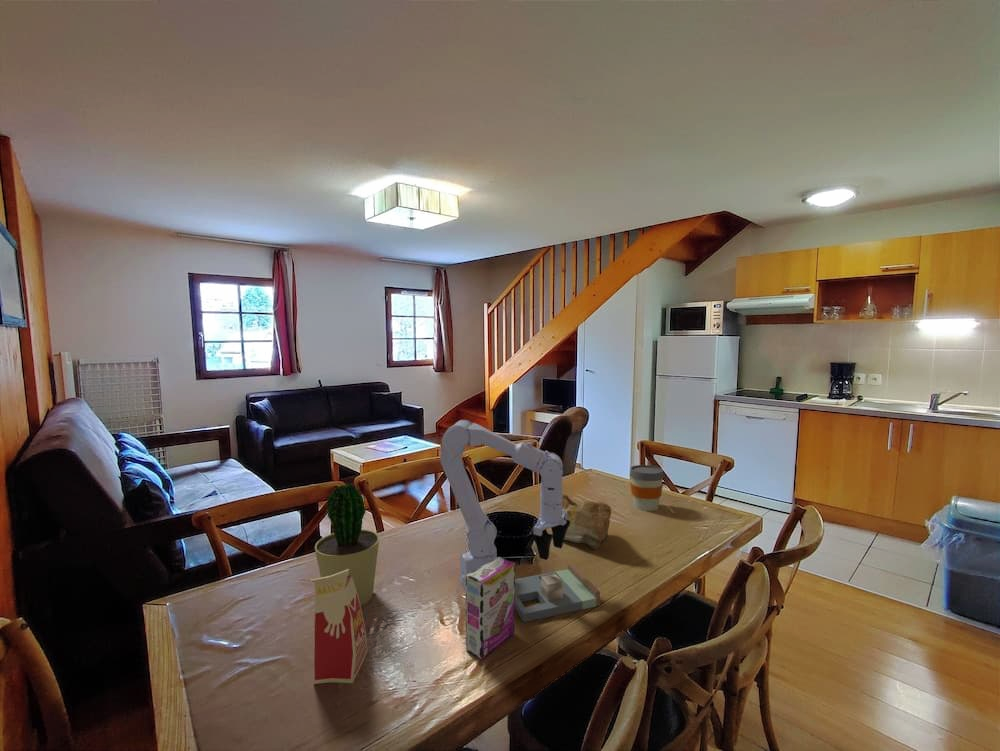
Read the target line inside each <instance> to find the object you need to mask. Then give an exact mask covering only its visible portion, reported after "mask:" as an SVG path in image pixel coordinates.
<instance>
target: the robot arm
mask: <svg viewBox="0 0 1000 751" xmlns="http://www.w3.org/2000/svg"><path fill="white" fill-rule="evenodd" d="M467 445H469V446H470V447H476V446H480V445H485V446H486V447H488V448H489V447H490V448H492V449H494V450H496V451H499V452H501V453H504V454H506V455H508V456H511V458H512V461H513V463H515V464H517V465H519V466H521V467H524V468H526V469H528V470H530V471H532V472H535V473H539V475H540V477H541V478H540V479H541V482H540V485H539V489H540V491H539V494H540V495H539V497H540V498H539V500H540V502H539V508H540V509H539V510H540V511H539V518H538V520H537V522H536V524H535V525H534V526H533V528H532V530H531V531H530V535H531V537H532V539H533V540H534V542H535V545H536V547H537V552H538V556H539V559H542V560H545V561H547V560H548V559H549V557H550V549H551V548H550V547H551V542H553V547H554V548H557V549H561V550H562V548H563V544H564V541H565V540H564V538H565V534H566V531H567V529H568V527H569V525H570V521H569V520H566V519H565V518H567V510H563V509H562V494H563V484H562V483H563V474H564V469H563V468H564V466H563V461H562V459H561V457H560V456H559V455H558V454H556V453H555V452H550V451H548V450H545V451H544V450H541V449H539V448H537V447H535V446H534V445H533V443H532V442H530V441H527V442H523V441H521V442H519V443H515V442H513V441H511V440H510V439H507V438H506V437H503V436H501V435H499V434H497V433H495V432H493V431H492V430H490V429H488V428H486V427H484V426H482V425H480V424H478V423H475V422H471V421H470V420H467V419H460V420H457V421H456V422H455V423H454V424H453V425H451V426H450V427H448V428H447V429H446V431H445V432H444V434H443V436H442V438H441V449H440V457H439V461H440V464H441V467H442V468H443V472H444V474H445V476H446V478H447V481H448V483H449V485H450V488H451V491H452V493H453V496H454V497H455V500H456V502H457V505H458V508H459V509H460V513H461V514H462V517H463V519H464V522H465V532H466V534H465V535H466V536H467V541H468V543H467V547H468V551H467V552H465V553H462V554H461V555H460V579H459V580H460V582H461V584H462V587H463V589H464V591H465V592H466V575H467V574H469V573H471V572H473V571H475V570H476V569H478V568H480V567H482V566H483V565H485V564H487V563H489V562H491V561H492V560H494V559H496V558H498V556H497V555H498V554H497V553H498V552H497V551H498V550H497V546H496V545H495V539H496V538H497V536H498V535H497V534H498V530H497V527H496V526H495V524H494V523H493V522H492V521H491V520H490V519H489V517H488V515H487V514H486V513H485V512H484V511H483V509H482V507H481V504H480V502H479V500H478V497H477V495H476V493H475V489H474V488H473V485H472V483H471V479H470V478H469V476H468V474H467V471H466V468H465V466H464V464H463V461H462V459H461V458H462V456H463V453H464V452H465V450H466V447H467ZM550 528H551V532H552V534H550V533H548V531H547V530H548V529H550Z"/></svg>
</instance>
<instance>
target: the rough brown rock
mask: <svg viewBox="0 0 1000 751" xmlns="http://www.w3.org/2000/svg"><path fill="white" fill-rule="evenodd" d="M562 509H563V510H567V518H565V519H566V520H569V521H570V525H569V527H568V529H567V531H566V534H565V538H564V541H568V542H572V543H576V544H577V543H578V544H581V543H583V544H586V545H587V546H588V547H589V548H591V549H593V550H598V549H599V548H600V545H601V544H602V542H603V541H604V540H607V539H608V536H609V535H608V532H609V527H610V523H611V520H610V519H611V515H612V507H611V506H610V505H609V504H607V503H605V502H603V501H602V502H598V501H597V502H595V501H591V500H590V501H589V500H585V501H583V502H582V503H581V504H580V505H579V504H577V502H575V501H573V500H572V499H570V497H569V496H568V495H567V494H563V493H562Z"/></svg>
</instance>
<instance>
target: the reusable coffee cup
mask: <svg viewBox="0 0 1000 751" xmlns="http://www.w3.org/2000/svg"><path fill="white" fill-rule="evenodd" d="M629 477H630V482H629V484H630V491H631V492H630V493H631V495H632V499H633V500H632V501H633V506H634V508H635V509H637V510H639V511H644V512H653V511H654V512H655V511H657V510H658V509H659V504H660V498H661V496H662V492H663V479H664V471H663V468H661V467H659V466H655V465H654V466H653V465H648V464H639V465H637V464H636V465H633V466H630V469H629Z"/></svg>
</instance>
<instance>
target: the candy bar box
mask: <svg viewBox="0 0 1000 751" xmlns="http://www.w3.org/2000/svg"><path fill="white" fill-rule="evenodd" d="M515 564H516V563H515V562H513V561H511V560H508V559H505V558H502V557H501V556H497V558H496V559H494V560H492V561H491V562H489V563H487V564H485V565H483V566H482V567H480V568H478V569H476V570H475V571H473V572H471V573H469V574H467V575H466V591H465V650H466V651H467V652H468V653H470V654H472V655H473V656H475V657H476V658H478V659H480V660H483V659H484V658H486V657H487V656H488V655H489V654H490V653H492V652H493V651H494V650H496V648H498V647H499V646H500V645H501V644H502V643H504V642H505V641H506V640H508V639H509V638H510V637H511V636H513V635H514V634H515V608H514V593H515V579H516V578H515V575H516V572H515V571H516V570H515V569H516V568H515V567H516V565H515Z"/></svg>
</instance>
